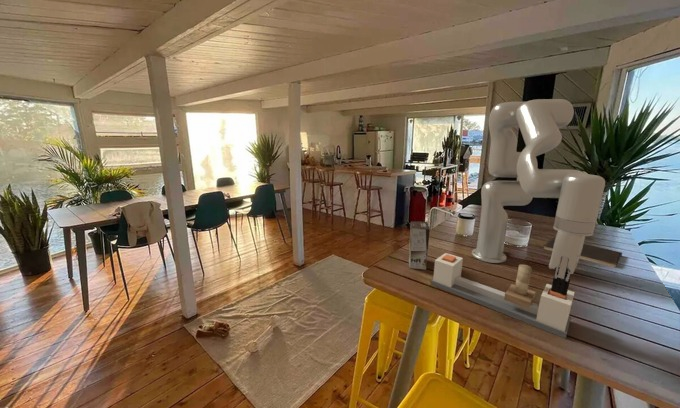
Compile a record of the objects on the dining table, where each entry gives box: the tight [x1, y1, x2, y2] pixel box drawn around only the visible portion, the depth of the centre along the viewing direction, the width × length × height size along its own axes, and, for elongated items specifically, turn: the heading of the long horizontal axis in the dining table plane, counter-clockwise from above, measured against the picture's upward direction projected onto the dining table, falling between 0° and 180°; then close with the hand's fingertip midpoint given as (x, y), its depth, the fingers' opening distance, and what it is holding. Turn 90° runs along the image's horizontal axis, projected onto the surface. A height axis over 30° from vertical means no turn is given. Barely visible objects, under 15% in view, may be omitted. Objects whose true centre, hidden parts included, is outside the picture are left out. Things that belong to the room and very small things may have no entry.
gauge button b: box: [549, 290, 566, 300], centre depth 72 cm, size 3×3×4 cm
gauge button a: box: [442, 254, 456, 263], centre depth 92 cm, size 3×3×4 cm
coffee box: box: [408, 221, 431, 270], centre depth 106 cm, size 9×6×16 cm
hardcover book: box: [543, 236, 623, 268], centre depth 117 cm, size 16×23×2 cm
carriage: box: [504, 264, 537, 309], centre depth 77 cm, size 7×6×10 cm
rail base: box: [430, 252, 575, 339], centre depth 83 cm, size 9×36×9 cm, turn 45°
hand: (558, 291), depth 71 cm, fingers closed
